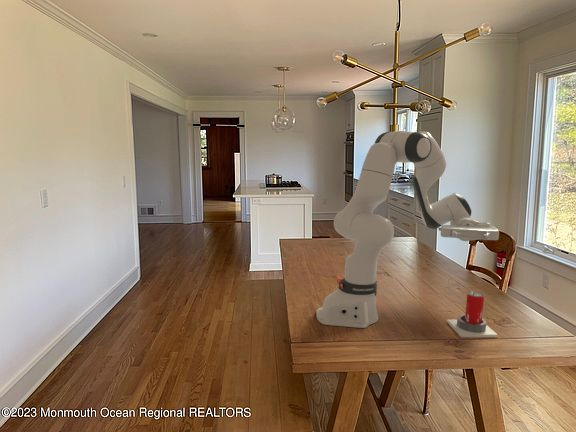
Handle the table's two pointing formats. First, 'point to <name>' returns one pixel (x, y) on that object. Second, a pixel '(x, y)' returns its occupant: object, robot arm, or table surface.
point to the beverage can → (474, 308)
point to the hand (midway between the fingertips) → (472, 236)
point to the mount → (470, 328)
